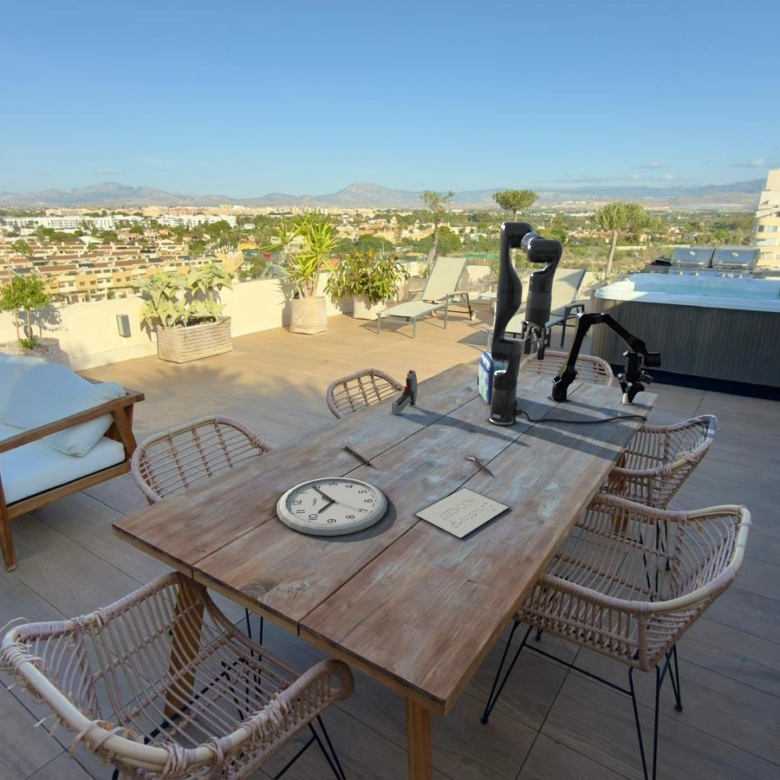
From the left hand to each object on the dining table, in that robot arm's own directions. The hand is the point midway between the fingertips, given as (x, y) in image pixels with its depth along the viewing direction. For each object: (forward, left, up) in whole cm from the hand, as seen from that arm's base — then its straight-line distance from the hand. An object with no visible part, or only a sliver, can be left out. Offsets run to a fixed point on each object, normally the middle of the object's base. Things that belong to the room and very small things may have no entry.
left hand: (533, 356), depth 167 cm
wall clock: (+68, +20, -34) cm, 79 cm away
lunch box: (-15, -57, -34) cm, 68 cm away
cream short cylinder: (-72, -40, -34) cm, 89 cm away
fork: (+19, +4, -34) cm, 39 cm away
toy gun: (+27, -51, -34) cm, 67 cm away
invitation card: (+34, +31, -34) cm, 57 cm away
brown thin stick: (+56, -10, -34) cm, 66 cm away
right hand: (-72, -40, -33) cm, 89 cm away
